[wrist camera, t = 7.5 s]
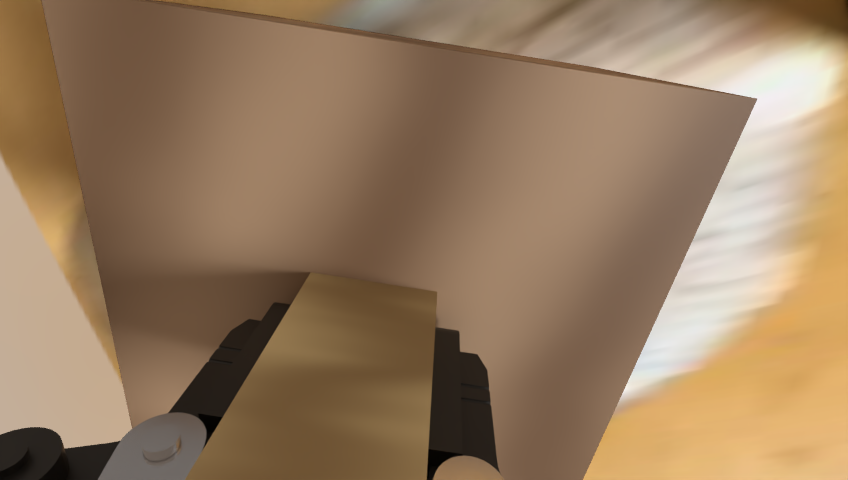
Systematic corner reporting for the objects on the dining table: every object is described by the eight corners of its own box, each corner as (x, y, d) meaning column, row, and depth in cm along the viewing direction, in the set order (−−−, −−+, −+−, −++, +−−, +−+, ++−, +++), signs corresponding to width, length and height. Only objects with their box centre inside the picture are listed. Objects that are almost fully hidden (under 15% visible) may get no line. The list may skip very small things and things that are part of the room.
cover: (590, 66, 19) (1314, 205, 3) (514, 330, 25) (621, 829, 9) (265, 15, 18) (-744, -120, 3) (269, 292, 24) (-48, 731, 9)
